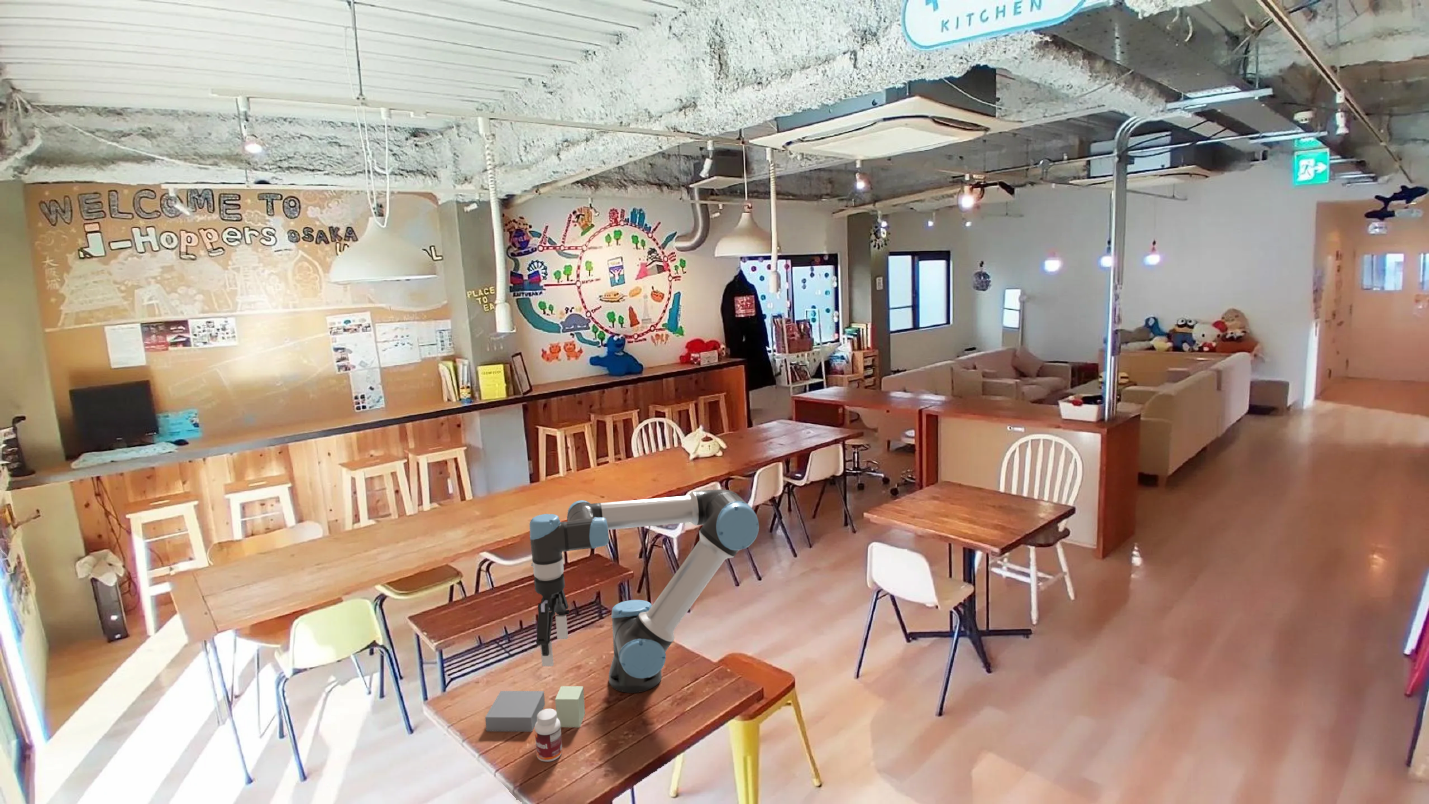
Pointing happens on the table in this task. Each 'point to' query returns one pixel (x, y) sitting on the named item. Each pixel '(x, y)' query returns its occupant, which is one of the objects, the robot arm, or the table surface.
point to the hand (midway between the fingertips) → (555, 651)
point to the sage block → (570, 706)
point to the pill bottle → (548, 735)
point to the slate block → (515, 711)
